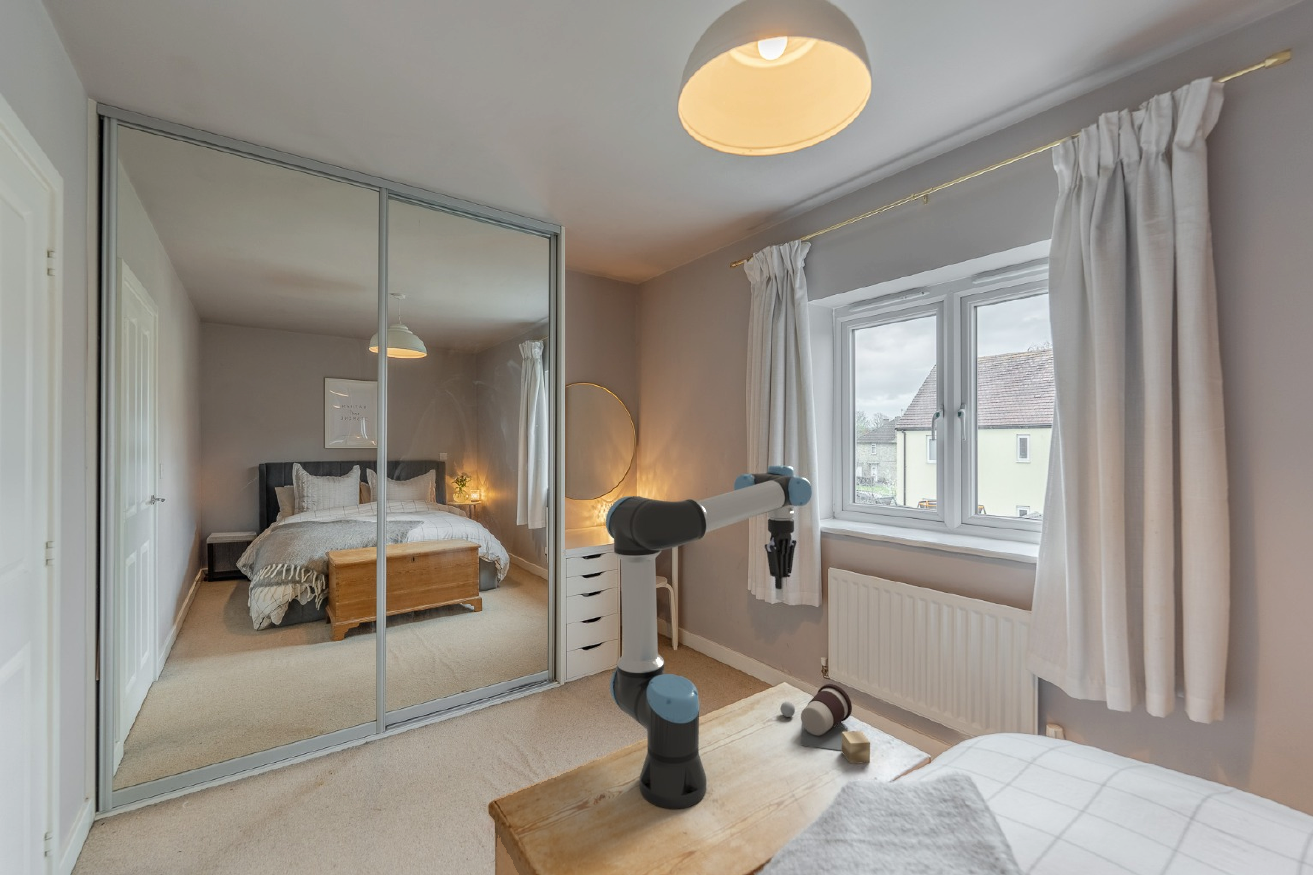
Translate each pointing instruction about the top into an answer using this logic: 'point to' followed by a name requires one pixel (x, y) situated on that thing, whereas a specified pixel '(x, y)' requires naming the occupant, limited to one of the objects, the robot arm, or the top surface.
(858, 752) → the oak block
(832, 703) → the coffee cup
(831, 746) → the display mat
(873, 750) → the top surface
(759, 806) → the top surface
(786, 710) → the grey ball
